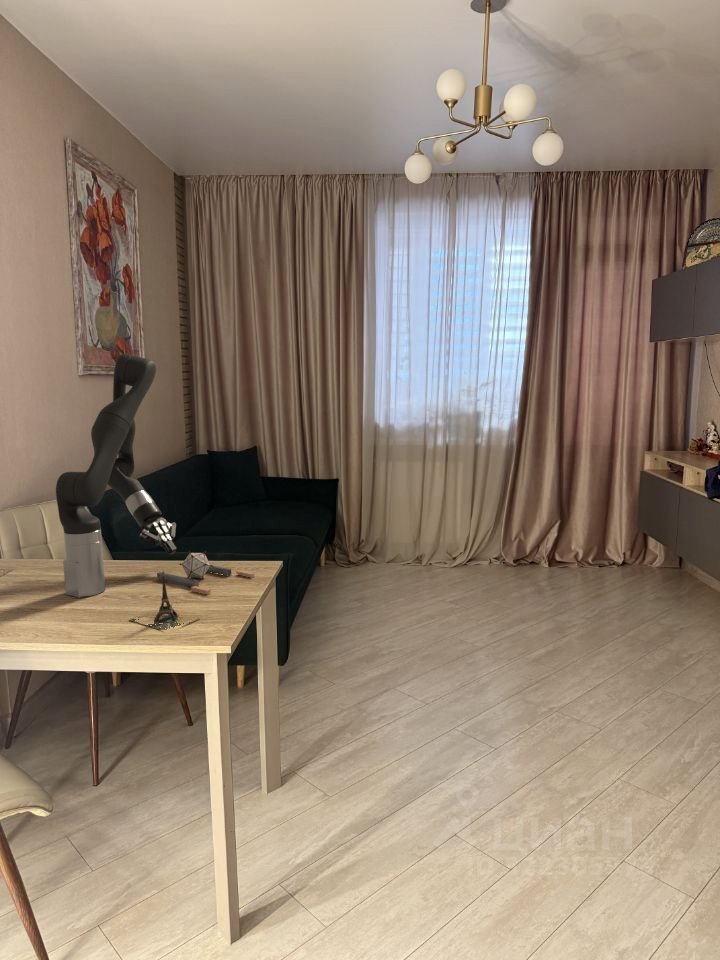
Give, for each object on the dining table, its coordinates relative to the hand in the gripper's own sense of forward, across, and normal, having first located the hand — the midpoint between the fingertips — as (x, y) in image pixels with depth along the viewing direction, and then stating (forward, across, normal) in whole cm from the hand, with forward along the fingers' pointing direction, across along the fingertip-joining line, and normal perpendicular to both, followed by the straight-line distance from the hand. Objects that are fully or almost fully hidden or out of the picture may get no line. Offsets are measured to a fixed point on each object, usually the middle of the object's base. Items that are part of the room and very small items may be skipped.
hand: (173, 552), depth 188 cm
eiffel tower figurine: (+25, -28, -16) cm, 40 cm away
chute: (+11, 0, -2) cm, 11 cm away
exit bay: (+19, 0, -10) cm, 22 cm away
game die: (+12, 0, -2) cm, 12 cm away
